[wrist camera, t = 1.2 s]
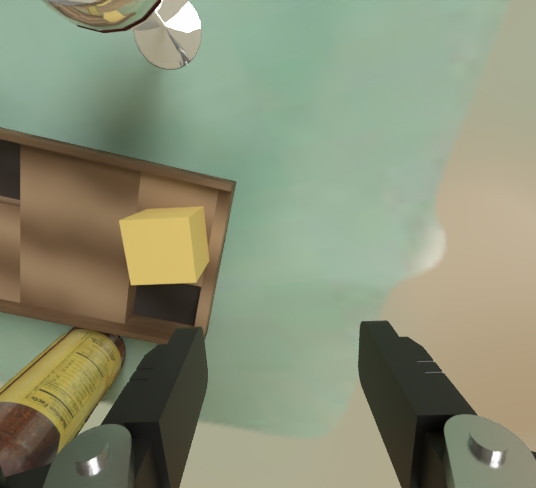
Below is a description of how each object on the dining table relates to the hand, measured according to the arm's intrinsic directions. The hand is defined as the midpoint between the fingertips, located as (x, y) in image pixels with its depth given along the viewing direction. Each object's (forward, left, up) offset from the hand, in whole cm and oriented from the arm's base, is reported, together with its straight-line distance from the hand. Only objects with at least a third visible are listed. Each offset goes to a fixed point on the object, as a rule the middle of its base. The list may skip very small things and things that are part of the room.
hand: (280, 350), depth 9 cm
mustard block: (+2, -8, -15) cm, 17 cm away
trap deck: (+4, -18, -17) cm, 25 cm away
